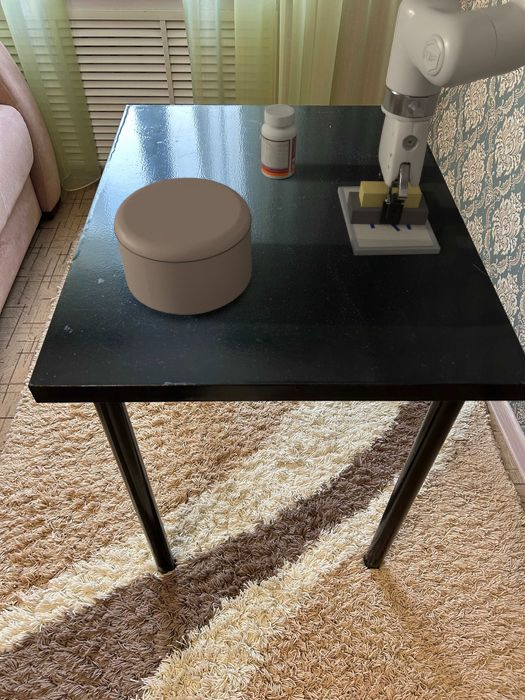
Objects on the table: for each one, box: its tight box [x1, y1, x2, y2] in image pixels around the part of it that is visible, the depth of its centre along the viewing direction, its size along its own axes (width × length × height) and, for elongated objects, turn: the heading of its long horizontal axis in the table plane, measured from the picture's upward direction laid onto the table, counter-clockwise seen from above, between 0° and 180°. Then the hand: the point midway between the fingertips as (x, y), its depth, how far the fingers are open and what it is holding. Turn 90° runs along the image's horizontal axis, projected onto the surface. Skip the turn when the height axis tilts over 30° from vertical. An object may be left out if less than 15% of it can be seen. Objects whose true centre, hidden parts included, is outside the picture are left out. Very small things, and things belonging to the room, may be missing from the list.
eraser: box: [347, 180, 430, 225], centre depth 86 cm, size 12×6×5 cm, turn 89°
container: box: [113, 177, 253, 316], centre depth 74 cm, size 18×18×12 cm
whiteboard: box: [337, 185, 441, 256], centre depth 88 cm, size 18×13×1 cm
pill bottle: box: [260, 103, 298, 180], centre depth 94 cm, size 6×6×11 cm
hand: (386, 211), depth 87 cm, fingers closed on eraser, 5 cm apart
